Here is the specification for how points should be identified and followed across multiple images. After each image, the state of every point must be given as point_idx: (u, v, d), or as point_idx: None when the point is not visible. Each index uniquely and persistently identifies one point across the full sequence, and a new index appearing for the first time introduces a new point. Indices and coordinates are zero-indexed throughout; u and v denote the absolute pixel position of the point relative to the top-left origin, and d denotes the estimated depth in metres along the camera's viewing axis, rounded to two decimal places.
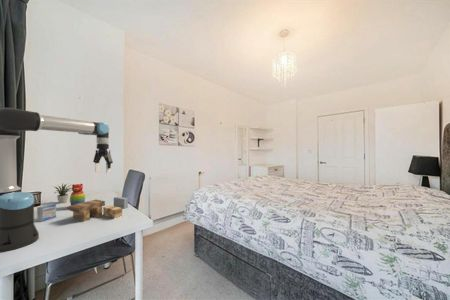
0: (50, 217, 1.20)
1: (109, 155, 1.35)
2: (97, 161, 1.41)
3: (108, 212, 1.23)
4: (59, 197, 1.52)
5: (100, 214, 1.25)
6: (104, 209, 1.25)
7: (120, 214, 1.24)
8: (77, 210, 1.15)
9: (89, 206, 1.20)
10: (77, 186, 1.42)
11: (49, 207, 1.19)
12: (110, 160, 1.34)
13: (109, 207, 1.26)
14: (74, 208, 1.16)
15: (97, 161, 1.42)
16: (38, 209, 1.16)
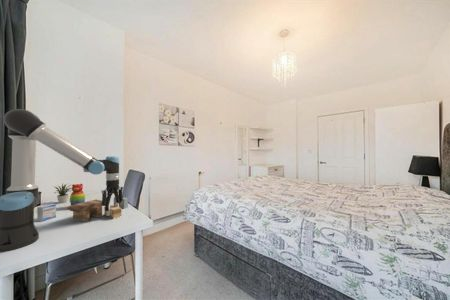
0: (50, 217, 1.20)
1: (103, 196, 1.20)
2: (117, 200, 1.28)
3: None
4: (59, 197, 1.52)
5: (100, 214, 1.25)
6: None
7: (119, 214, 1.23)
8: (77, 210, 1.15)
9: (89, 206, 1.20)
10: (77, 186, 1.42)
11: (49, 207, 1.19)
12: (103, 203, 1.20)
13: (110, 207, 1.26)
14: (74, 208, 1.16)
15: (117, 200, 1.28)
16: (38, 209, 1.16)
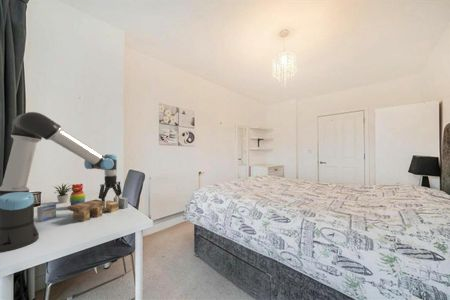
0: (50, 217, 1.20)
1: (101, 190, 1.31)
2: (116, 193, 1.42)
3: (106, 207, 1.35)
4: (59, 197, 1.52)
5: (100, 214, 1.25)
6: None
7: (117, 208, 1.36)
8: (77, 210, 1.15)
9: (89, 206, 1.20)
10: (77, 186, 1.42)
11: (49, 207, 1.19)
12: (99, 196, 1.31)
13: (107, 202, 1.38)
14: (74, 208, 1.16)
15: (116, 193, 1.42)
16: (38, 209, 1.16)
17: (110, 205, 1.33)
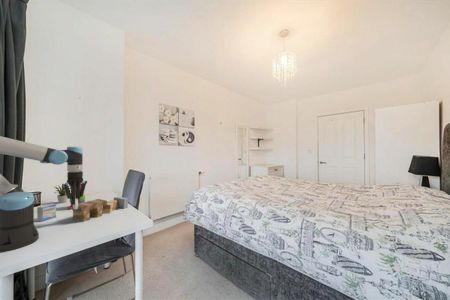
0: (50, 217, 1.20)
1: (66, 190, 1.12)
2: (76, 195, 1.17)
3: None
4: (59, 197, 1.52)
5: (100, 214, 1.25)
6: None
7: (108, 210, 1.32)
8: (80, 209, 1.16)
9: (91, 205, 1.21)
10: None
11: (49, 207, 1.19)
12: (68, 196, 1.13)
13: (111, 201, 1.40)
14: None
15: (76, 195, 1.17)
16: (38, 209, 1.16)
17: None
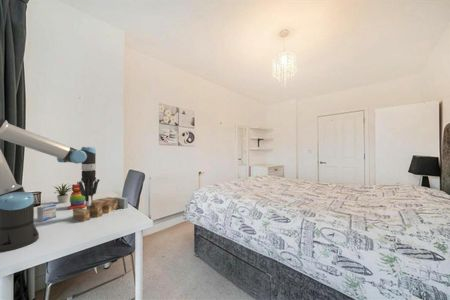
0: (50, 217, 1.20)
1: (80, 188, 1.19)
2: (89, 192, 1.25)
3: None
4: (59, 197, 1.52)
5: (100, 214, 1.25)
6: None
7: (107, 210, 1.32)
8: (93, 205, 1.23)
9: (103, 202, 1.28)
10: (77, 186, 1.42)
11: (49, 207, 1.19)
12: (82, 193, 1.20)
13: None
14: None
15: (90, 192, 1.24)
16: (38, 209, 1.16)
17: None
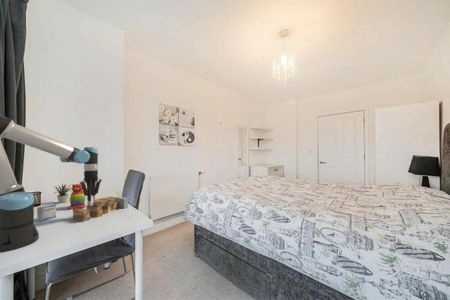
0: (50, 217, 1.20)
1: (83, 187, 1.21)
2: (92, 192, 1.26)
3: None
4: (59, 197, 1.52)
5: (100, 214, 1.25)
6: None
7: (106, 210, 1.31)
8: (95, 205, 1.24)
9: (106, 202, 1.29)
10: (77, 186, 1.42)
11: (49, 207, 1.19)
12: (84, 193, 1.22)
13: None
14: None
15: (92, 192, 1.26)
16: (38, 209, 1.16)
17: None
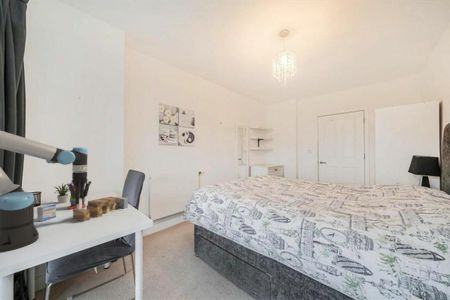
0: (50, 217, 1.20)
1: (71, 190, 1.14)
2: (80, 195, 1.20)
3: None
4: (59, 197, 1.52)
5: (100, 214, 1.25)
6: None
7: (105, 211, 1.31)
8: (95, 205, 1.24)
9: (106, 202, 1.29)
10: None
11: (49, 207, 1.19)
12: (72, 196, 1.15)
13: None
14: (92, 203, 1.26)
15: (80, 195, 1.20)
16: (38, 209, 1.16)
17: None
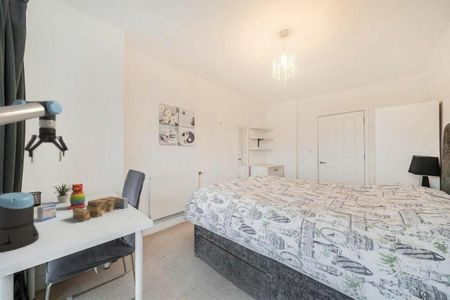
0: (50, 217, 1.20)
1: (30, 141, 1.08)
2: (60, 149, 1.21)
3: None
4: (59, 197, 1.52)
5: (100, 214, 1.25)
6: None
7: None
8: (95, 205, 1.24)
9: (105, 202, 1.29)
10: (77, 186, 1.42)
11: (49, 207, 1.19)
12: (26, 147, 1.07)
13: None
14: (92, 203, 1.26)
15: (60, 149, 1.21)
16: (38, 209, 1.16)
17: None
